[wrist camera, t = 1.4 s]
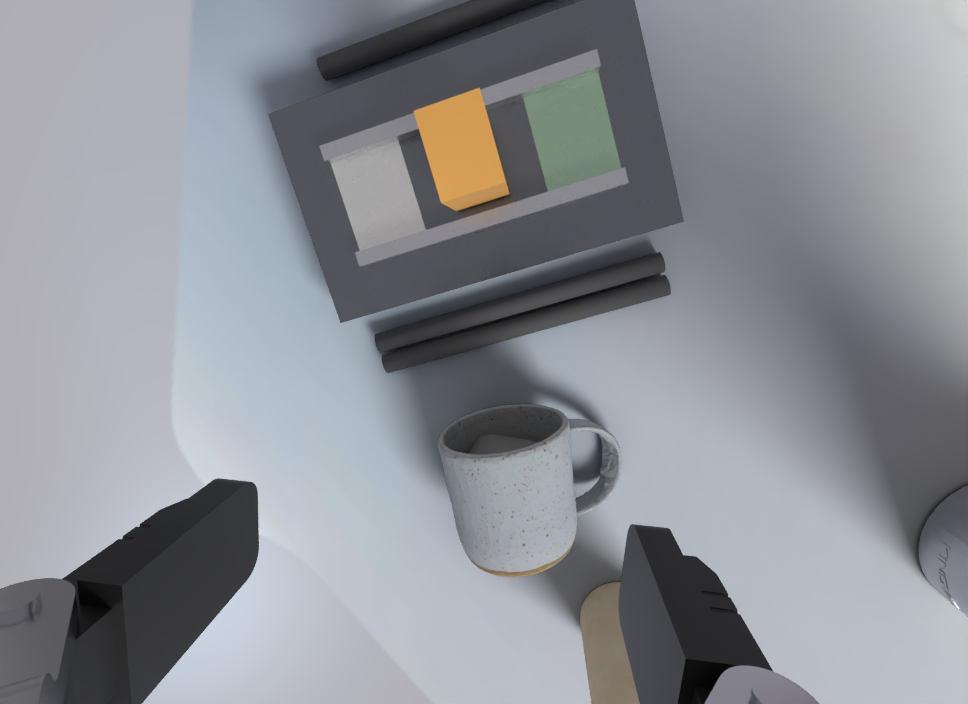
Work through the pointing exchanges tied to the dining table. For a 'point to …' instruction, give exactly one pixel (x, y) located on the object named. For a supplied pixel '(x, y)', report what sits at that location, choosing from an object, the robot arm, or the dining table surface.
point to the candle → (606, 648)
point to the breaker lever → (462, 150)
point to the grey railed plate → (482, 8)
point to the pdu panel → (521, 147)
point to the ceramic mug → (519, 485)
